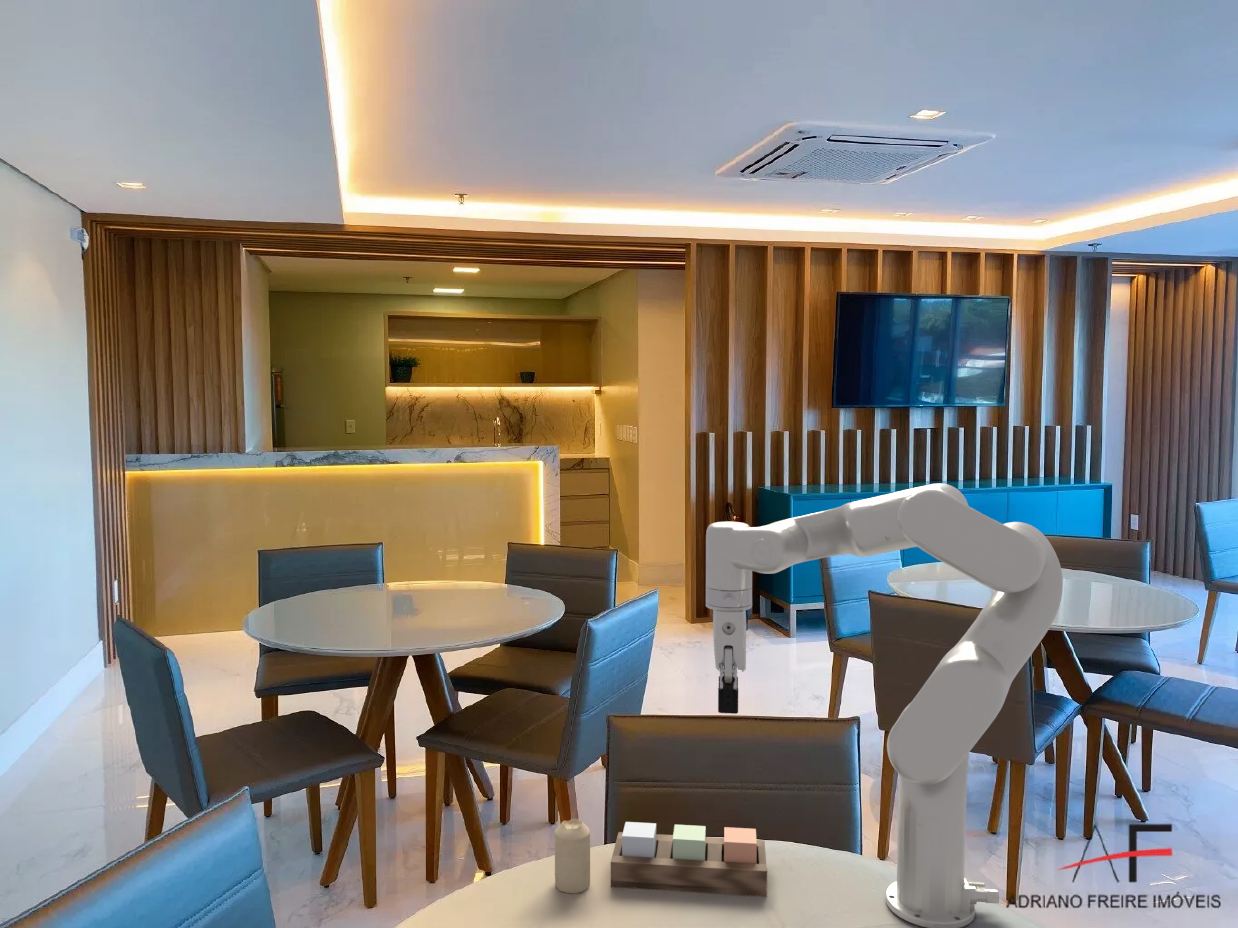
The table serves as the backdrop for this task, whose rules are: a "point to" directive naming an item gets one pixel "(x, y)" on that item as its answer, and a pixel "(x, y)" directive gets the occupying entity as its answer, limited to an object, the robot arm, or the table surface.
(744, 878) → the button panel
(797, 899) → the table surface
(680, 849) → the sage button
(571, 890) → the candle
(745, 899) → the table surface
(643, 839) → the greyblue button
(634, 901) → the table surface
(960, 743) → the robot arm
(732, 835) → the terracotta button
